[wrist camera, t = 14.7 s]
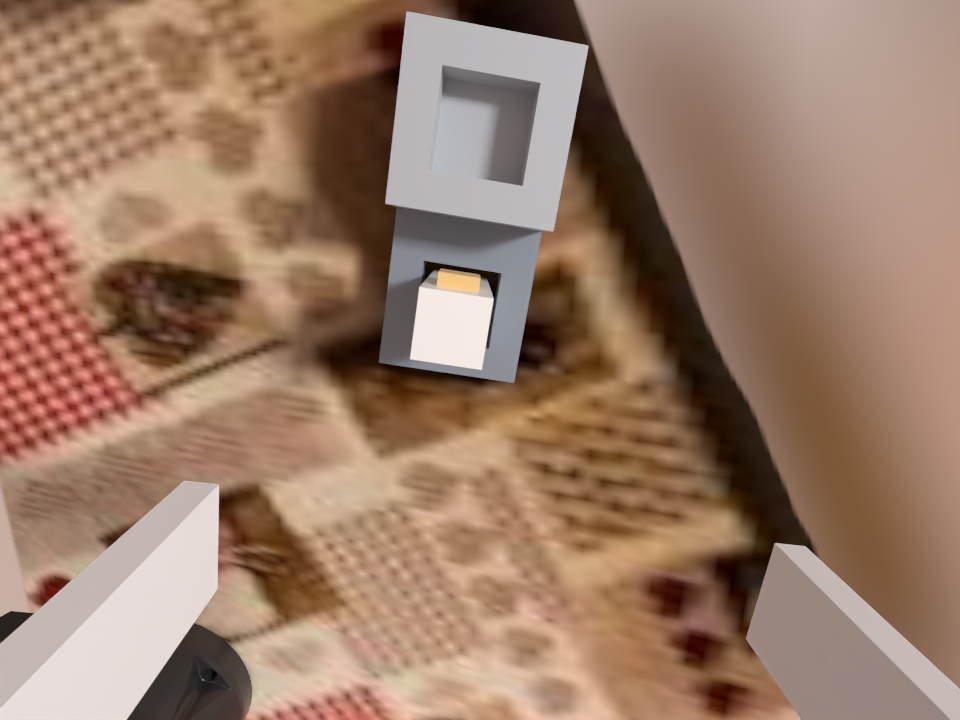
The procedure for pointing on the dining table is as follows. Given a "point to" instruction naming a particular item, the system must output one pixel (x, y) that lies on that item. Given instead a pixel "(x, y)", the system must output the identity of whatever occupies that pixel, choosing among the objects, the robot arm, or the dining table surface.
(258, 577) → the dining table surface
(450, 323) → the plug
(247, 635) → the dining table surface
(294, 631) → the dining table surface
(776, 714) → the dining table surface
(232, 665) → the robot arm
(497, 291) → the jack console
